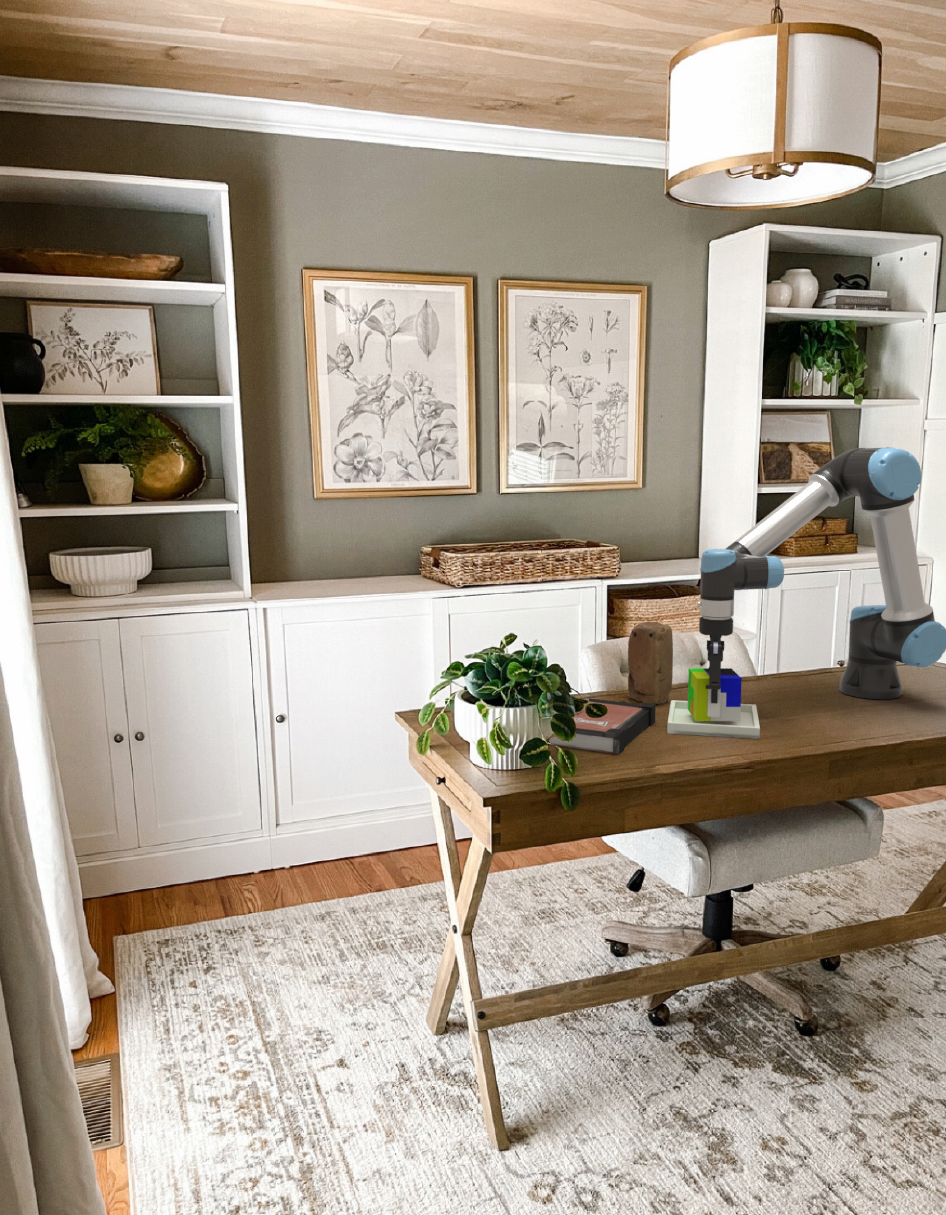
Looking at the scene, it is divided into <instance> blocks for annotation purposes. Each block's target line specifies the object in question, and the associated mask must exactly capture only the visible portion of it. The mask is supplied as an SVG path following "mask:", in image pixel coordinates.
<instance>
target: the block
mask: <svg viewBox="0 0 946 1215" xmlns="http://www.w3.org/2000/svg"><path fill="white" fill-rule="evenodd" d="M673 640H674V639H673V629H672V627H671V626H670V625H669V624H663V623H660V622H658V621H657V622H655V621H654V622H652V621H646V622H645V621H644V622H640V623H638V624H636V625H634V627H633V628H632V630H631V631H630V634H629V639H628V641H627V665H628V677H627V693H628V696H629V698H631V699H633V698H634V699H633V700H636V701H638V700H639V701H638V702H641V701H642V702H641V703H644V702H645V703H651V704H656V705H661V703H662V704H664V702H665V703H666V702H667V701H668V700H669V697H670V693H671V691H672V687H673V678H674V677H673V672H674V670H673V669H674V665H673V664H674V661H673V660H674V641H673Z"/></svg>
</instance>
